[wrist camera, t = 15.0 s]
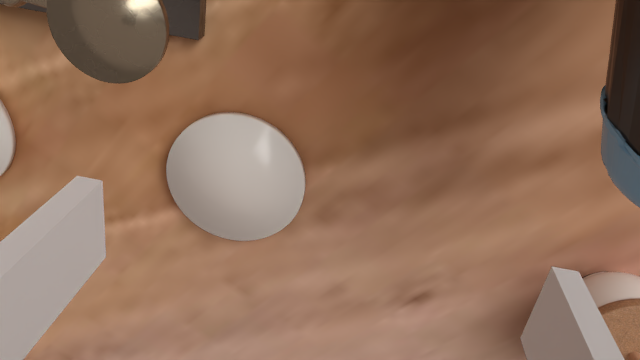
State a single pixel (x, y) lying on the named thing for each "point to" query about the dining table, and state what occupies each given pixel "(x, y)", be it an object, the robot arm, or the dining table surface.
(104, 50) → the balance
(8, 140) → the plate low
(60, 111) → the dining table surface
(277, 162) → the white dome
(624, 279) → the lidded jar
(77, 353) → the dining table surface
